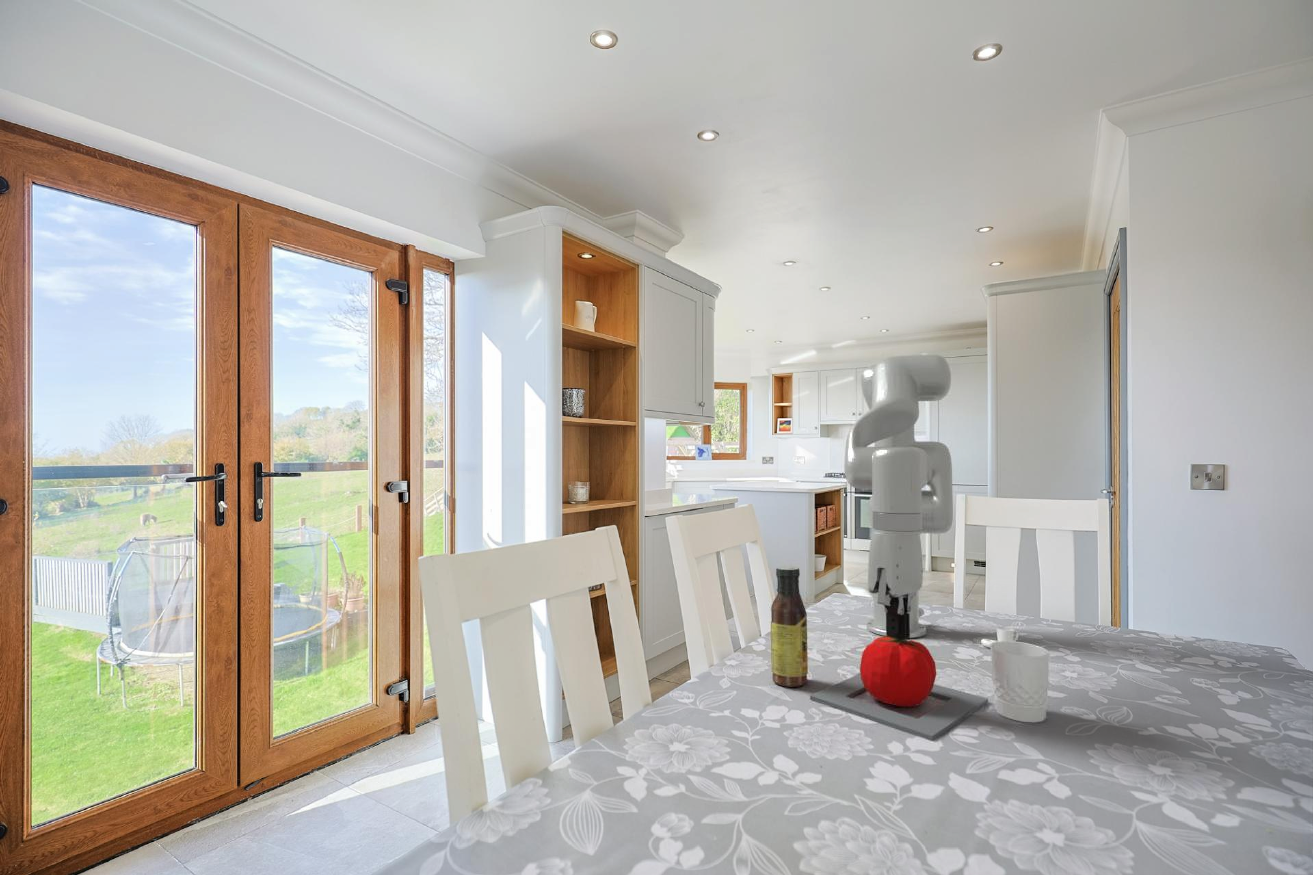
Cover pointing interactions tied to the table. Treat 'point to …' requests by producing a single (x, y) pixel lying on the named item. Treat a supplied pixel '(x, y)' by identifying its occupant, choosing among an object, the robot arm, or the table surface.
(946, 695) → the gray picture frame
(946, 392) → the robot arm
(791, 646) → the sauce bottle
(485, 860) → the table surface
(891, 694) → the tomato
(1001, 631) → the teacup and saucer
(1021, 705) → the white cup
